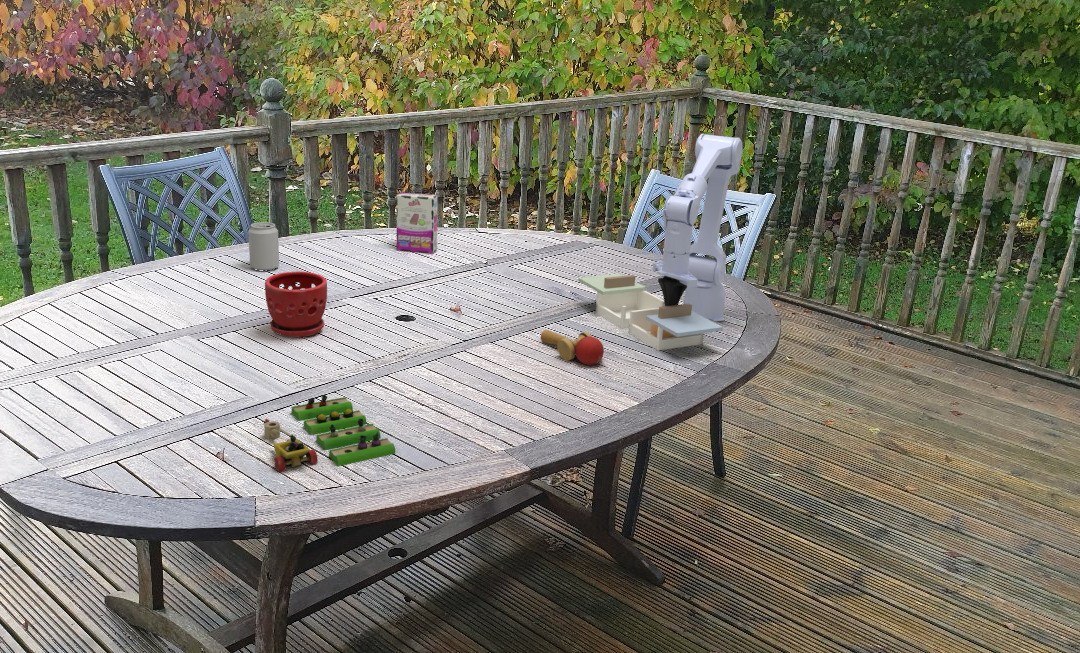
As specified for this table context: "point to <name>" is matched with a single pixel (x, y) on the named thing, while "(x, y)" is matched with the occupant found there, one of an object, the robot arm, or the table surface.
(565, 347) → the kendama
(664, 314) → the lid
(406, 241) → the candy bar box
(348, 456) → the toy garden set
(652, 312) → the crate
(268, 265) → the can
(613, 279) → the lid
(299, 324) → the plant pot
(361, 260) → the table surface
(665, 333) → the block
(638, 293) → the crate
